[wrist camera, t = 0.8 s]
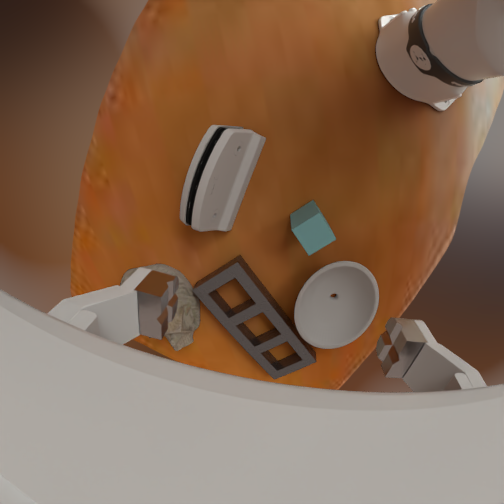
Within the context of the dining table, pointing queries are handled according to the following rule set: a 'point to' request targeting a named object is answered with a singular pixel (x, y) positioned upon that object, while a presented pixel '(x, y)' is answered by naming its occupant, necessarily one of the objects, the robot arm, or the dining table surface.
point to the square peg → (311, 228)
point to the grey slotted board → (249, 309)
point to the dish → (336, 305)
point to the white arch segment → (219, 177)
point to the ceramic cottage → (178, 308)
